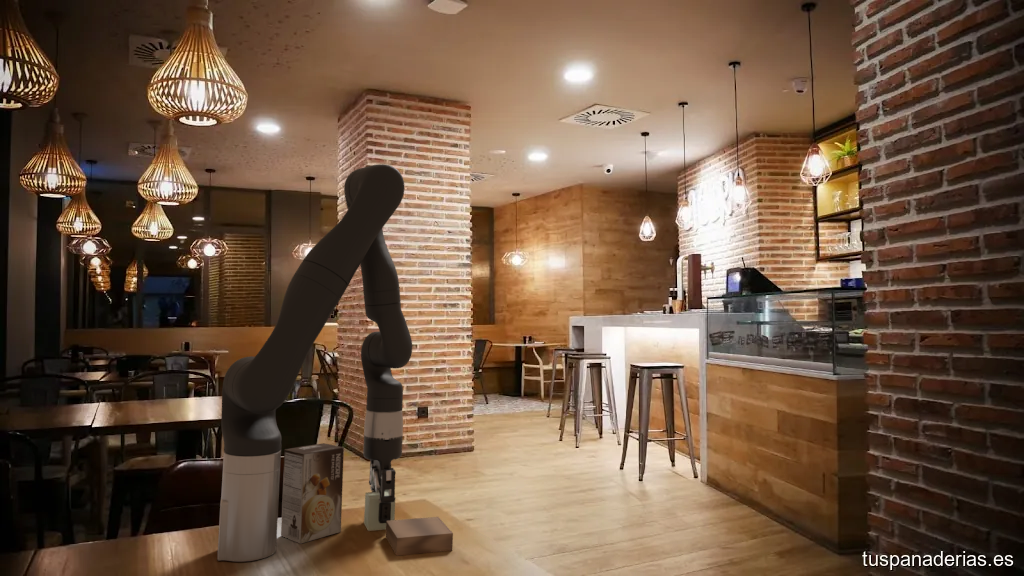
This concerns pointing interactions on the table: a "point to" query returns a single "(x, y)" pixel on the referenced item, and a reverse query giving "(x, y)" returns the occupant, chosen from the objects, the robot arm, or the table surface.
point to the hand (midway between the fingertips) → (380, 516)
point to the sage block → (375, 511)
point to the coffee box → (312, 492)
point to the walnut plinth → (418, 535)
